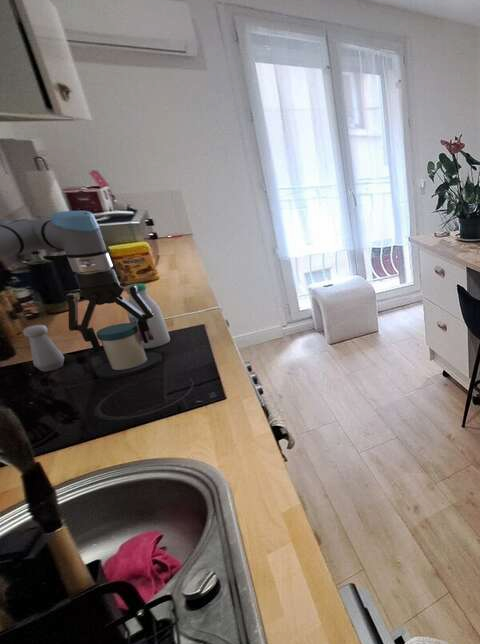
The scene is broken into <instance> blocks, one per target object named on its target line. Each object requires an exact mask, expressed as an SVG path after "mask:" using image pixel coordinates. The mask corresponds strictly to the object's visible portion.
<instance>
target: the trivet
mask: <svg viewBox="0 0 480 644" xmlns="http://www.w3.org/2000/svg"><path fill="white" fill-rule="evenodd" d="M145 354H146V357H147V361H146V362H144V363H143V364H141V365H138V366H135V367H132V368H128V369H122V370H114V369H112V368H111V365H110V363H109V361H106V362H104V363H102V364H100V366H98V367H97V368H96V369H95V371H94V372H95V375H96V377H97V378H100V379H107V380H108V379H109V380H110V379H119V378H125V377H129V376H133V375H136V374H140V373H144V372H145V371H149V370H150V369H153V368H154V367H157V366H158V365H159V364H160V363H161V362H162V361H163V357H162V354H161V353H159V352H155V351H145Z"/></svg>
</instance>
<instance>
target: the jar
mask: <svg viewBox="0 0 480 644" xmlns="http://www.w3.org/2000/svg"><path fill="white" fill-rule="evenodd" d="M100 343H101V345H102V348H103V350H104V352H105V355H106V358H107V360H108V362H109V363H110V365H111V368H112V369H114V370H122V369H128V368H132V367H135V366H138V365H141V364H143V363H144V362H146V361H147V357H146V354H145V352H146V351H145V348H143V345H142V343H141V340H140V337H139V334H138V332H137V333H135V334H133V335H131V336H128V337H125V338H121V339H116V340H108V341H103V340H100Z"/></svg>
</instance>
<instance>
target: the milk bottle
mask: <svg viewBox="0 0 480 644" xmlns="http://www.w3.org/2000/svg"><path fill="white" fill-rule="evenodd" d="M132 285H136V286H137V289H138V293H139V294H140V295H141V297H142V298H143V299H144V301H145V302H146V303H147V304H148V306H149V307H150V308H151V310H152V311H153V312H154V315H153V317H152V318H149V319H147V320H148V323H149V326H150V330H149V331H146V332H147V334H148V337H149V342H148V343H144V340H143V338H142V335H141V332H140V329H139V327H138V324H137V322H138V320H139V319H137V318H136V317H135V316H133V315H132V314H131V313H129V312H128V311H127V310H126V311H127V317H128V320H129V323H134V324H136V326H137V327H138V334H139V337H140V340H141V343H142V345H143V348H144V349H154V348H158V347H162V346H164V345H167V344H168V343H170V341H171V337H170V334H169V331H168V327H167V324H166V322H165V319H164V315H163V313H162V311H161V308H160V306H159V304H158V303H157V302H156V301H155V300H154V299H153V298H152V297H151V296H150V295H149V294H148V289H147V286H146V283H133V284H129V285H127V286H132ZM126 294H127V295H128V302H129V303H130V304H132V305H133V306H134V307H135V308H137V309H138V310H139V311H141V312H142V313H143V314H144V315H145V313H144V312H143V310H142V309H141V308H140V307H139V305H138V304H137V303H136V301H135V300H134V299H133V297H132V296H131V294H128V293H127V292H126Z"/></svg>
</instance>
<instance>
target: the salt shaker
mask: <svg viewBox="0 0 480 644" xmlns="http://www.w3.org/2000/svg"><path fill="white" fill-rule="evenodd" d="M48 332H49V331H48V327H47V326H46V325H44V324H36V325H31V326H27V327H25V328H24V329H23V330H22V333H23V335H24V336H25V337H26V338H28V339H29V345H30V351H31V358H32V363H33V366H34V367H35V368H37V369H38V370H39V371H41V372H51V371H56V370H59V369H60V368H62V367H64V364H65V363H64V362H65V356H64V354H62V352H61V351H60V349H58V347H57V346H56V344H54V343H53V341H52V339H51V338H49V336H48V335H47V334H48Z"/></svg>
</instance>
